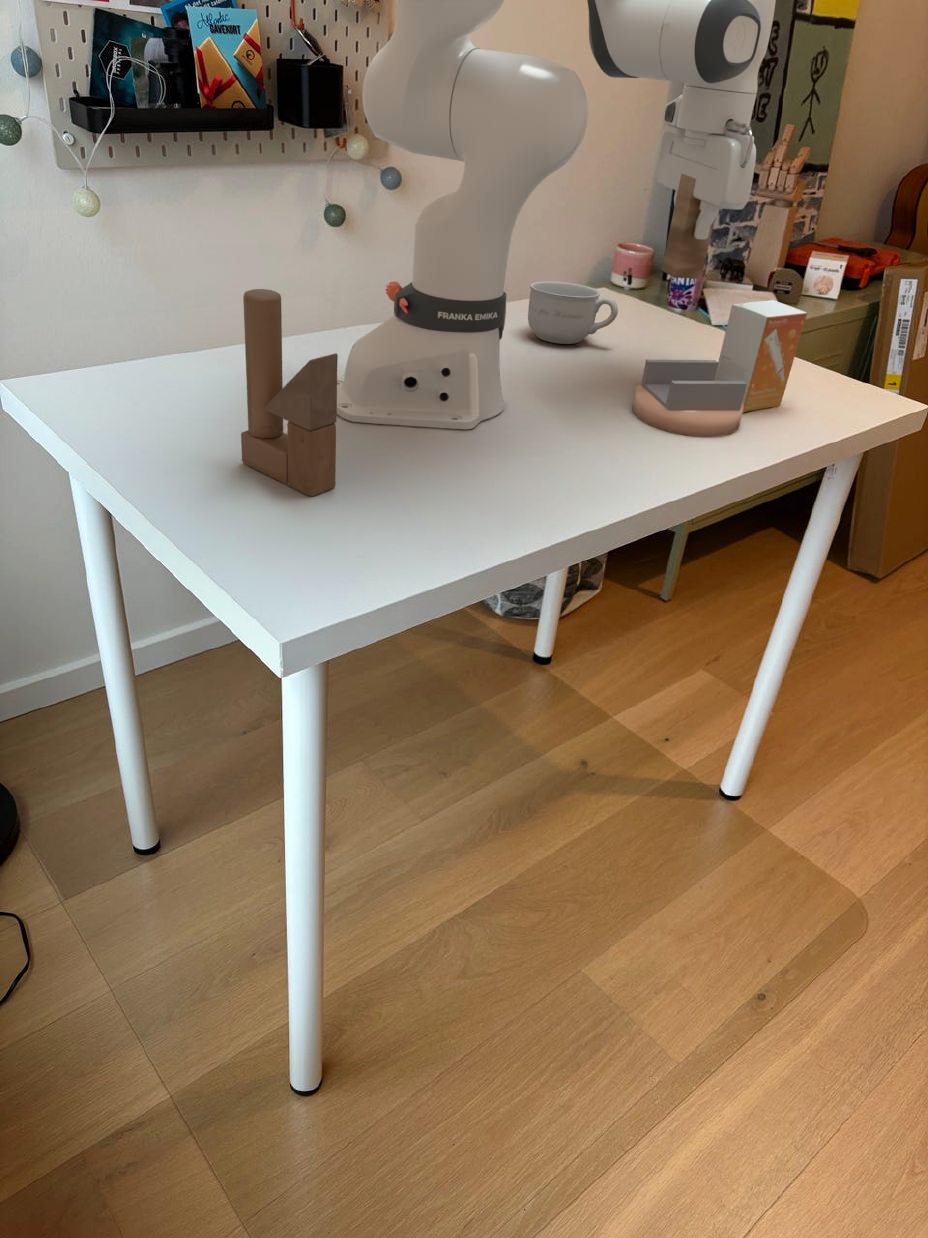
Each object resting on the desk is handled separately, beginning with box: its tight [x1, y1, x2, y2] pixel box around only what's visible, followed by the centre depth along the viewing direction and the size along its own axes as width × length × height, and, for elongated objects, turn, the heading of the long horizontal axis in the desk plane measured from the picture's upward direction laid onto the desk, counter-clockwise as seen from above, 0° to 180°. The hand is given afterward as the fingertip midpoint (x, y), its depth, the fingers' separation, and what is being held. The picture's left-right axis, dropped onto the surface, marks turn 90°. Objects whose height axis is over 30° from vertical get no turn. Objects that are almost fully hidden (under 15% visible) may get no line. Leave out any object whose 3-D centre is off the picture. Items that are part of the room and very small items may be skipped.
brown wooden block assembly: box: [240, 288, 339, 497], centre depth 95 cm, size 4×11×18 cm, turn 51°
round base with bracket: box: [632, 358, 747, 438], centre depth 124 cm, size 14×14×6 cm
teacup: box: [527, 280, 619, 345], centre depth 147 cm, size 14×11×8 cm
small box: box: [714, 299, 808, 413], centre depth 129 cm, size 8×6×13 cm
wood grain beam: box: [661, 174, 715, 280], centre depth 125 cm, size 4×4×12 cm
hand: (689, 233), depth 125 cm, fingers closed on wood grain beam, 4 cm apart
